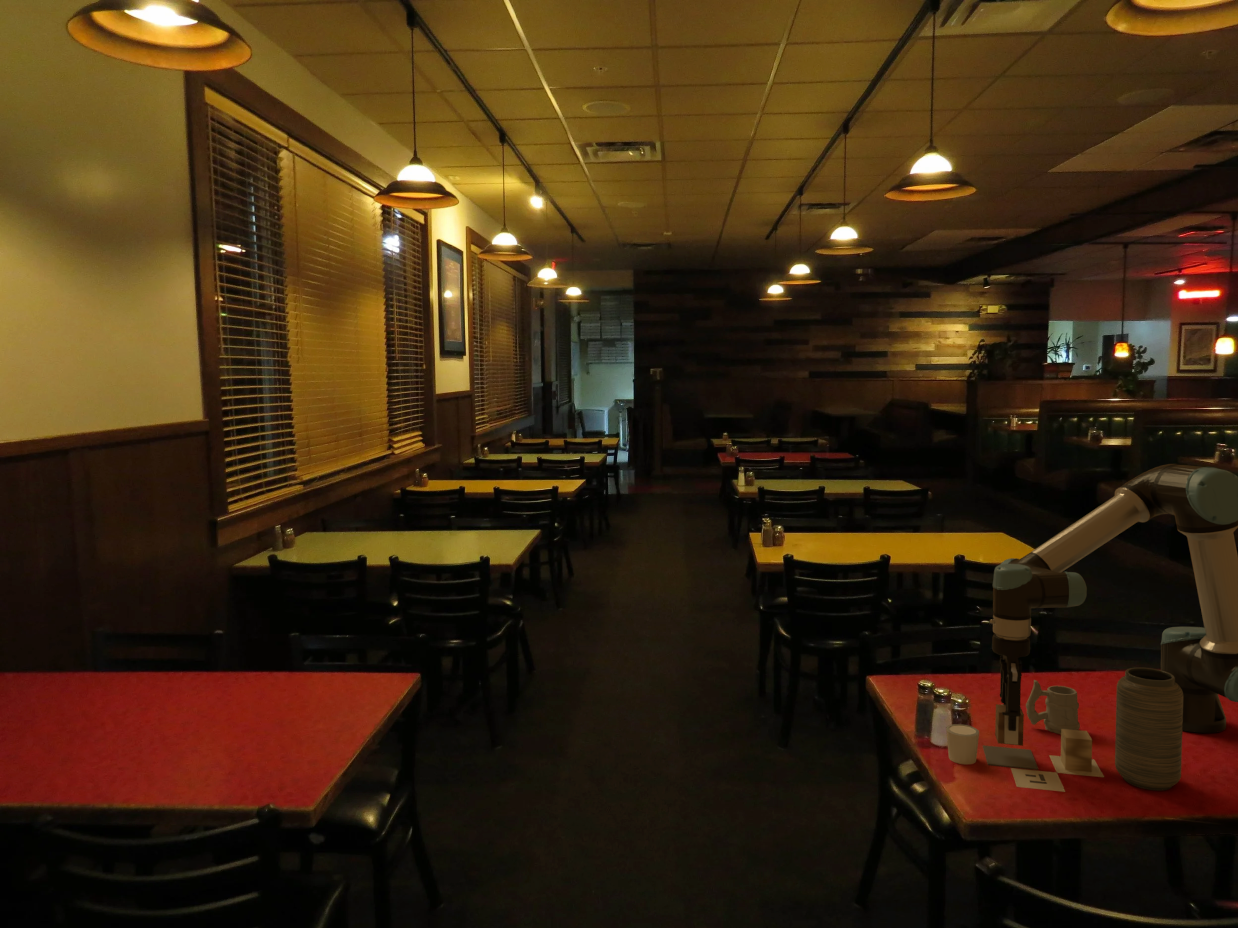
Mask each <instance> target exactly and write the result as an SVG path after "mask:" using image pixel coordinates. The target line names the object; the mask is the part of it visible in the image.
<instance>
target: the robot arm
mask: <svg viewBox="0 0 1238 928" xmlns="http://www.w3.org/2000/svg"><path fill="white" fill-rule="evenodd" d="M1161 515H1172V516H1174V518H1175V524H1176V529H1177V531H1178V532H1179V533H1180V534H1182V535H1184V536H1186V538H1187V543H1188V548H1189V549H1188V550H1189V553H1190V559H1191V564H1192V570H1193V573H1194V579H1195V585H1196V589H1197V590H1196V591H1197V596H1198V601H1199V606H1200V609H1201V615H1202V616H1201V617H1202V621H1203V627H1202V626H1201V627H1200V626H1172V627H1168V628H1166V629H1164V630H1163V632H1162V634H1161V642H1160V670H1162V671H1165V672H1168V673H1170V674H1172V675H1173V676H1174V677H1175V683H1177V684H1178V685H1179V686H1180V688H1181V689H1182V691H1183V725H1182V732H1183V731H1184V732H1190V733H1198V734H1214V733H1216V734H1217V733H1220V732H1223V731H1225V730H1226V728H1227V717H1226V715H1225V711H1224V708H1223V706H1222V702H1221V699H1220V697H1219V695H1220V696H1221V697H1223V698H1226V699H1228V700H1229V701H1231V702H1235V703H1238V551H1237V546H1236V540H1235V535H1234V532H1235V531H1236V530H1237V529H1238V476H1237V475H1236V474H1235V473H1233V472H1231V471H1230V470H1229V471H1228V470H1226V469H1220V468H1217V467H1213V466H1198V465H1197V466H1196V465H1188V464H1180V463H1168V464H1163V465H1159V466H1156V467H1154V468H1153V467H1152V468H1151V469H1149V470H1147V471H1144V472H1142V473H1140V474H1139V475H1137V476H1136V477H1134V478H1132V479H1130V480H1128V481H1126V482H1125V483H1124V484H1122V485H1121V486H1119V487H1117V488H1116V489H1115V491H1114V496H1113V497H1111V498H1109V499H1108V500H1106V501H1105V502H1104V503H1102V504H1101V505H1099V506H1097V507H1096V508H1095V509H1093V510H1092V511H1090V512H1089V513H1087V514H1086V515H1084V516H1083V517H1081V518H1080V519H1078V520H1076V521H1075V522H1073V523H1072V524H1071V525H1068V527H1066V528H1064V529H1063V530H1062V531H1060V532H1058V533H1057V534H1055V535H1054V536H1053V537H1051V538H1049V539H1048V540H1047V541H1045V542H1044V543H1042V544H1041V545H1039V546H1037V547H1036V548H1035V549H1033V550H1032V551H1030V552H1029V553H1027V554H1026V555H1024V556H1023V557H1021V558H1008V559H1005V560H1003V561H1002V562H1001V563H1000V564H998V565H996V566H995V567H994V571H993V580H992V588H993V589H992V611H993V612H992V614H993V615H992V619H989V623H990V624H992V632H993V635H992V639H991V640H992V644H991V645H992V646H991V648H992V649H991V650H992V651H993V653H995V654H996V655H999V665H1000V672H999V673H1000V683H999V685H1000V686H999V687H1000V690H999V691H1000V692H999V697H1000V698H1001V699H1000V703H1001V704H1000V705H1006V711H1005V712H1002V715H1005V720H1004V743H1005V744H1004V745H1010V744H1014V745H1013V746H1019V745H1018V723H1019V717H1020V715H1021V713H1020V707H1021V695H1022V694H1021V688H1022V687H1021V686H1022V676H1023V674H1022V670H1023V668H1022V667H1023V666H1022V663H1021V661H1020V659H1019V658H1024V657H1027V656H1029V655H1030V653H1031V638H1030V636H1031V633H1032V632H1031V631H1032V630H1031V628H1032V627H1031V625H1032V618H1031V617H1032V616H1031V613H1032V609H1044V608H1045V609H1046V608H1047V609H1048V608H1051V609H1052V608H1071V607H1079V606H1081V605H1082V604H1084V602H1085V601H1086V598H1087V592H1088V591H1087V590H1088V588H1087V584H1086V581H1085V580H1084V578H1083V576H1082V575H1081V574H1080V573H1078V572H1075V571H1074V572H1072V571H1065V570H1067V569H1068V568H1070V567H1072V566H1073V565H1075V564H1076V563H1077V562H1079V561H1080V560H1082V559H1084V558H1085V557H1086V556H1088V555H1090V554H1092V553H1093V552H1094V551H1096V550H1097V549H1098V548H1100V547H1102V546H1104V544H1106V543H1108V542H1110V541H1111V540H1112V539H1114V538H1115V537H1117V536H1118V535H1119V534H1121V533H1123V532H1125V531H1126V530H1127V529H1129V528H1130V527H1132V526H1133V525H1135V524H1136V523H1146V522H1148V521H1150V520H1151V519H1152V518H1154V517H1157V516H1161Z"/></svg>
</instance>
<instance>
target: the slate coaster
mask: <svg viewBox="0 0 1238 928" xmlns="http://www.w3.org/2000/svg"><path fill="white" fill-rule="evenodd" d="M982 749H983V753H984V756H985V760H986V764H987V766H995V767H1004V768H1015V769H1025V770H1035V771H1039V766H1038V764H1037V762H1036V760H1035V757H1034V755H1033V752H1032V750H1031V749H1029V748H1028V749H1026V748H1018V747H1017V748H1016V747H1007V746H1006V747H1004V746H995V745H994V746H993V745H984V744H983V745H982Z"/></svg>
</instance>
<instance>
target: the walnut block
mask: <svg viewBox="0 0 1238 928" xmlns="http://www.w3.org/2000/svg"><path fill="white" fill-rule="evenodd" d="M1005 711H1006V705H1001V704H995V723H994V724H995V725H994V726H995V729H994V730H995V732H994V735H995V738H996V741H997V744H1001V745H1006V744H1005V743H1004V720H1005V715H1002V712H1005ZM1020 713H1021V715H1020V717H1019V723H1018V745H1017V746H1019V747H1020V746H1021V747H1022V746H1024V724H1025V723H1024V719H1025V718H1024V717H1025V716H1024V712H1023V709H1022V707H1021V706H1020ZM1009 745H1010V746H1012V745H1013V746H1015V745H1014V744H1009Z"/></svg>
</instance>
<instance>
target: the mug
mask: <svg viewBox="0 0 1238 928" xmlns="http://www.w3.org/2000/svg"><path fill="white" fill-rule="evenodd" d="M1041 696H1042V697H1043V696H1044V697H1046V698H1045V700H1044V701H1045V702H1044V703H1045V706H1046V708H1045V711H1040V712H1037V710H1036V702H1037V701H1038V700H1039V698H1040V697H1041ZM1078 701H1079V700H1078V692H1077V690H1076V689H1074V688H1073V687H1068V686H1065V685H1052V686H1049V687H1048V688H1047V690H1046V689H1045V690H1042V686H1041V684H1040V683H1039V681H1038V680H1036V679H1033V685H1032V688H1031V692H1030V695H1029V696H1028V699H1027V701H1026V703H1025V708H1026V715H1027V718H1028V720H1029V721H1030V723H1031V724H1032V725H1034V726H1035V725H1037V724H1038V722H1040V721H1042V720H1043V724H1044V727H1045V730H1046V731H1049V732H1050V733H1055V734H1057V735H1061V729H1069V730H1080V728H1081V724H1080V721H1079V710H1078V709H1080V708H1079V707H1080V704H1079V702H1078Z"/></svg>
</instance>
